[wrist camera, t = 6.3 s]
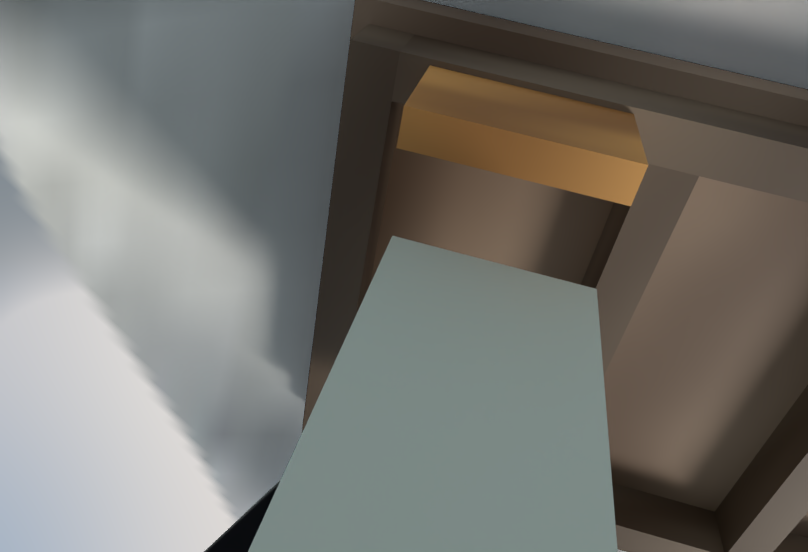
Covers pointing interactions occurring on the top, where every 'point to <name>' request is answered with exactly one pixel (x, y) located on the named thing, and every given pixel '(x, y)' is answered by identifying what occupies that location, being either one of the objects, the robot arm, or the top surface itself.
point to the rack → (603, 242)
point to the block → (455, 419)
